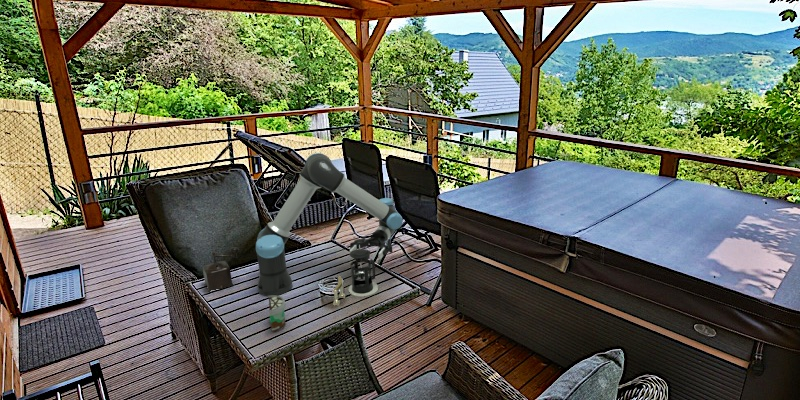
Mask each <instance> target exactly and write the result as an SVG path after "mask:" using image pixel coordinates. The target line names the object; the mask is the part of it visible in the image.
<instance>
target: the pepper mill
mask: <svg viewBox="0 0 800 400" xmlns="http://www.w3.org/2000/svg"><path fill="white" fill-rule="evenodd" d="M229 251H230V253H231V255H230V254H216V252H215V251H213V252H212V258H213V262H211V263H209V264H206V265H205V264H204V265H202V272H203V278H204V284H205V283H206V284H205V286H206V285H207V287H208V289H209V290H210V291H211V290H216V289H222V290H224V289H223V288H225V289H227V288H226V287H228V288H230V286H231V287H233V286H234V284H233V278H232V272H231V268H230V266H229V264H228V263H227V261H226V260H222V261H217V260H216V257H217V258H225V257H226V258H227V257H228V258H233V259H235V258H238V254H239V252H240V249H239V247H236V246H232V247H230V250H229ZM207 287H206V288H207ZM208 289H207V290H208Z"/></svg>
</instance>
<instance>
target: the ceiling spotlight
mask: <svg viewBox="0 0 800 400" xmlns="http://www.w3.org/2000/svg"><path fill="white" fill-rule="evenodd" d="M344 288H345V287H344V285H343V279H342V276H341V275H340V276H338V277H337V285H336V286H335V287H334V288H333V296H334V300H333V303H332V304H333V305H334V307H335V305H337V306H340V304H341V300H339V298H346V293H344V290H345V289H344ZM339 289H340V292H337V291H338V290H339ZM343 289H344V290H343ZM338 293H339V294H338Z"/></svg>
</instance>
